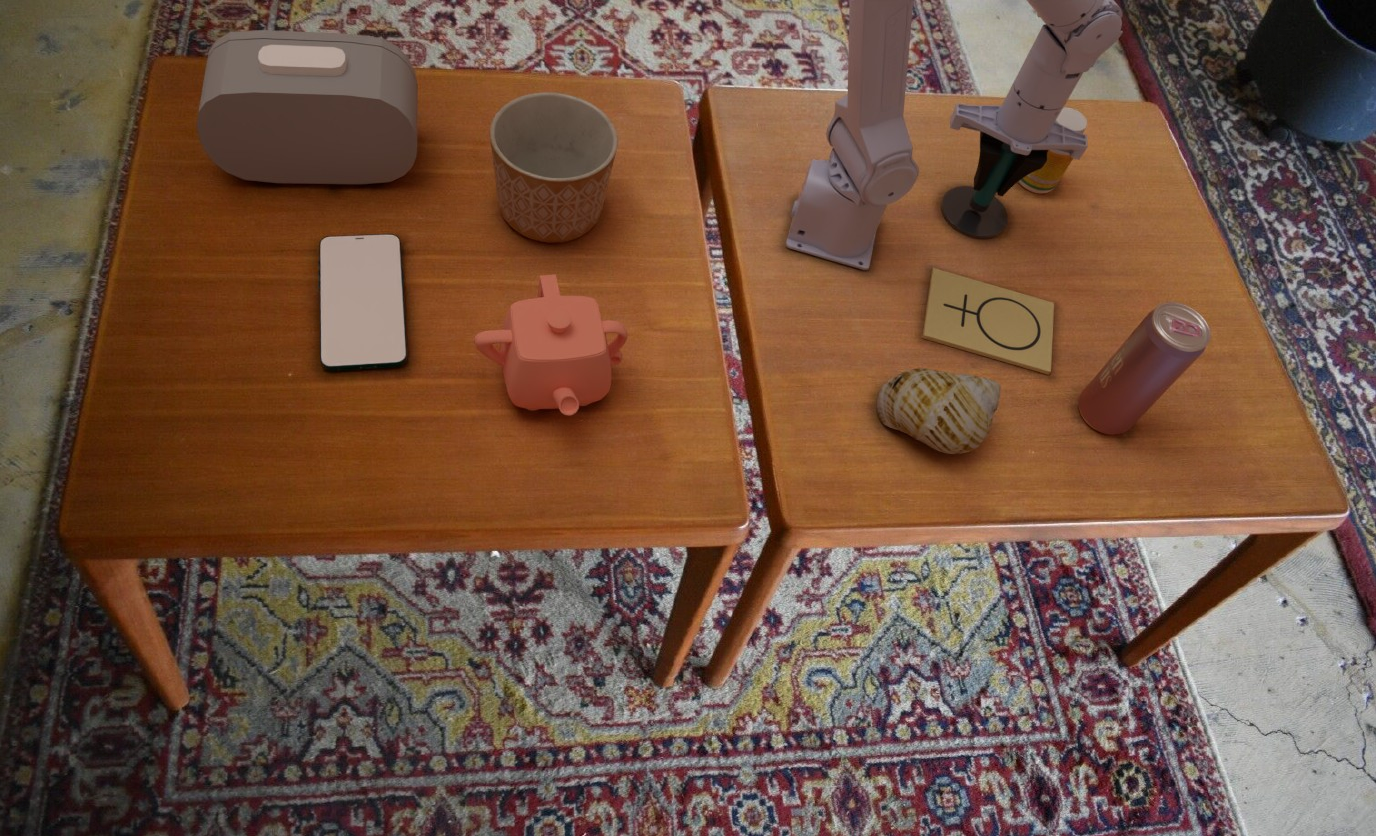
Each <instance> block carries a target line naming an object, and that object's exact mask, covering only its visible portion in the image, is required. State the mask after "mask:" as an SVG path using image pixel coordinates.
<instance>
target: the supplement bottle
mask: <svg viewBox="0 0 1376 836" xmlns="http://www.w3.org/2000/svg"><path fill="white" fill-rule="evenodd" d="M1055 122H1057V123H1059V124H1061V125H1063V126H1065V127H1067V128H1069V129H1071V130H1074V131H1076V132H1079V133H1082V134H1084V132H1085V130H1086V129H1087V127H1088V120H1087V118H1086V117H1085V115H1084V114H1083V113H1081V112H1080V111H1078V110H1077V109H1075V108H1072V107H1068V106H1064V107H1063V109H1062V111H1061V112H1060V114H1059V116H1058V117H1057V119H1056V121H1055ZM1073 160H1074V158H1071V157H1070V154H1069V153H1065V152H1061V151H1057V150H1049V151H1048V152H1047V161H1046V163H1045V165H1044V166H1043V167H1042V168H1041V169H1039V170H1036V171H1034V172H1032V173H1030V174H1029V175H1027V176H1025V177H1024V178H1022V179H1021V180H1020V181H1018V182H1017V183H1018V184H1019V185H1020V186H1022V187H1023V188H1025V189H1026V190H1027V191H1029V192H1032V193H1035V194H1047V193H1050V192H1052V191H1053V190H1054V189H1056V187H1057V186H1058V184H1059V182H1060V181H1061V179H1062V178H1063V176H1064V174H1065V173H1066V171H1067V170H1068V168H1069V167H1070V165H1071V164H1072V162H1073Z"/></svg>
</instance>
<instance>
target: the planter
mask: <svg viewBox="0 0 1376 836" xmlns="http://www.w3.org/2000/svg"><path fill="white" fill-rule="evenodd" d="M489 139H490V140H489V141H490V147H491V156H492V163H493V173H494V180H495V187H496V195H497V202H498V204H497V205H498V209H499V211H500V213H501V216H502V218H503V219H504V221H505V222H506V223H507V224H508V225H509V227H511V229H513V230H514V231H515V232H517V233H518V234H520V235H522V236H523V237H525V238H528V239H530V240H534V241H537V242H541V243H548V244H549V243H552V244H555V243H566V242H570V241H573V240H576V239H579V238H580V237H582V236H584V235H585V234H587V233H589V232H590V231H591V230H592V229H593V228H594V227H595V225H596V224H597V223H598V221H599V219H600V218H601V214H602V211H603V208H604V207H603V206H604V202H605V199H606V194H607V191H608V186H609V182H610V179H611V175H612V171H613V167H614V163H615V158H616V154H617V150H618V145H619V137H618V133H617V129H616V127H615V125H614V123H613V122H612V120H611V119H610V118H609V116H608V115H607V114H606V113H605V112H604V111H603V110H601V108H599V107H597V105H595V104H593V103H591V102H590V101H588V100H586V99H583V98H580V97H578V96H575V95H571V94H568V93H562V92H551V91H542V92H534V93H528V94H524V95H521V96H519V97H516V98H514V99H511V100H510V101H508V102H507V103H506V104H504V105H503V106H501V108H499V109H498V111H497V112H496V113H495V114H494V116H493V118H492V120H491V122H490V127H489Z"/></svg>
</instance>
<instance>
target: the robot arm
mask: <svg viewBox="0 0 1376 836" xmlns="http://www.w3.org/2000/svg"><path fill="white" fill-rule="evenodd" d="M1026 2H1027V3H1028V4H1029V5H1030V7H1032V10H1034V12H1035V13H1036V16H1037V18H1040V19H1041V21H1043V23H1044V24H1042V26H1041V28H1040V30H1039V31H1038V34H1037V36H1036V38H1035V39H1034V42H1033V44H1032V46H1031V47H1030V49H1029V51H1028V54H1027V55H1026V57H1025V59H1024V61H1023V62H1022V65H1021V67H1020V68H1019V71H1018V73H1017V74H1016V76H1015V78H1014V81H1013V83H1012V84H1011V87H1010V88H1009V90H1008V92H1007V94H1006V96H1005V98H1004V100H1003V102H1002V104H995V105H993V104H992V105H990V104H989V105H988V104H986V105H985V104H984V105H982V104H965V103H960V102H957V103H955V106H954V108H953V110H952V112H951V114H950V117H949V119H950V121H949V128H950V130H951V129H952V130H956V131H959V130H960V129H961V128H964V129H968V130H972V131H976V132H979V157H978V161H977V168H976V171H975V174H974V177H973V187H974V190H978V191H980V190H981V188H982V187H983V185H984V183H985V181H986V179H987V177H988V174H989V173H990V171H991V170H992V168H993V167H994V165H995V164H996V163H997V161H998V160H999V159H1000V158H1001V147H1002V145H1003V142H1004V143H1006V144H1008V145H1010V148H1011V151H1012V152H1014V153H1018V155H1017V157H1016V159H1015V161H1014V162H1013V164H1012V166H1011V168H1010V170H1009V171H1008V173H1007V175H1006V177H1005V179H1004V180H1003V182H1002V184H1001V186H1000V188H999V189H998V191H997V193H996V196H999V197H1004V196H1005V194H1007V193H1008V192H1009V190H1011V189H1012V188H1013V187H1014V186H1015V185H1016V184H1018V183H1019V182H1018V181H1020V180H1021V179H1022V178H1024V177H1025V176H1027V175H1029V174H1030V173H1032V172H1034V171H1036V170H1039V169H1041V168H1042V167H1043V166H1044V165H1045V163H1046V161H1047V152H1048V151H1049V150H1057V151H1061V152H1065V153H1069V154H1070V157H1071V158H1073V160H1078V161H1080V160H1081V158H1082V156H1083V155H1084V153H1085V152H1086V150H1087V149H1088V135H1087V134H1085V133H1083V134H1082V133H1079V132H1076V131H1074V130H1071V129H1069V128H1067V127H1065V126H1063V125H1061V124H1059V123H1057V122H1055V121H1056V119H1057V117H1058V116H1059V114H1060V112H1061V111H1062V109H1063V107H1065V105H1066V104H1067V102H1068V100H1069V99H1070V97H1071V95H1072V93H1073V91H1074V90H1075V89H1076V86H1077V85H1078V83H1079V81H1080V79H1081V78H1082V76H1083V74H1084V73H1087V72H1088V71H1089V70H1090V69H1091V68H1093V67H1094V66H1095V64H1096V62H1097V61H1098V59H1099V58H1100V57H1101V55H1102V54H1103V53H1105V52H1106V51H1108V49H1110V48H1111V47H1112V46H1113V45H1114V44H1115V43H1116V42H1117V41H1118V40H1119V38H1120V37H1121V36H1122V34H1123V33H1124V31H1123V30H1121V29H1122V28H1123V27H1122V26H1123V20H1122V18H1123V10H1122V8H1121V7H1120V6H1119V4H1118V3H1117V2H1116V1H1115V0H1026ZM848 5H849V8H848V10H849V11H848V12H849V13H848V14H849V15H848V53H847V54H848V57H847V58H848V59H847V60H848V61H847V94H845V95H844V96H841V98H839V99H837V100H836V101H835V103H834V113H833V117H832V118H831V120H830V121H829V124H828V126H827V129H826V140H827V142H828V144H829V145H830V146H831V147H832V148H831V150H830V154H829V156H828V158H829V159H816V158H811V160H810V162H809V165H808V168H807V171H806V174H805V176H804V180H803V182H802V186H801V188H800V191H799V194H798V198H797V199H796V200H794V202H793V205H792V208H791V211H790V217H792V219H791V222H790V226H789V230H788V234H787V236H786V237H787V238H786V241H785V246H786V248H788V249H790V250H794V251H797V252H801V253H804V254H808V255H811V256H815V257H818V258H821V259H824V260H829V261H832V262H835V263H838V264H842V265H845V266H848V267H852V268H856V269H858V270H862V271H867V270H869V268H870V267H871V260H872V256H873V250H874V245H875V240H876V235H877V230H878V227H879V225H880V223H881V221H882V219H883V216H884V215H885V212H886V209H887V208H888V206H889V205H890V204H893V203H895V202H898V201H899V200H901V199H902V198H903V197H905V196H906V195H907V194H908V193H909V192H910V191H911V190H912V188H913V187H914V185H915V184H916V182H917V180H918V177H919V176H920V175H919V173H920V170H919V166H918V164H917V162H916V161H915V159H914V158H913V150H914V148H913V143H912V141H911V137H910V133H909V130H908V127H907V125H906V121H905V118H904V112H905V103H906V102H905V101H906V91H907V78H908V67H909V55H910V45H911V44H910V43H911V34H912V22H913V21H912V20H913V10H914V0H849V4H848Z"/></svg>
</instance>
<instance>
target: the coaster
mask: <svg viewBox="0 0 1376 836" xmlns="http://www.w3.org/2000/svg"><path fill="white" fill-rule="evenodd" d="M975 191H976V190H974V186H969V185H962V186H956V187H953V188H951V189H950V190H948V191H947V192H945V194H944V195H943V197H942V199H941V203H940V210H941V214H942V216H943V218H944V219H945V222H947V224H948V225H949V226H950V227H952V228H953V230H955V231H957V232H958V233H960V234H962V235H964V236H966V237H970V238H973V239H978V240H988V239H992V238H996V237H998V236H1000V235H1001V234H1002V233H1003V232H1004V231H1005V230H1006V228H1007V226H1008V221H1009V215H1008V212H1007V210H1006V207H1005V206H1004V204H1003V203H1002V201H1000V200H999V198H997V196H996V195H995V196H994V198H993V200H992V202H991V204H990V205H989V207H988V209H987V210H986V211H985V212H978V211H975V210H974V209H972V208H971V206H970V200H971V198H972V197H973V195H974V193H975Z"/></svg>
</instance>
